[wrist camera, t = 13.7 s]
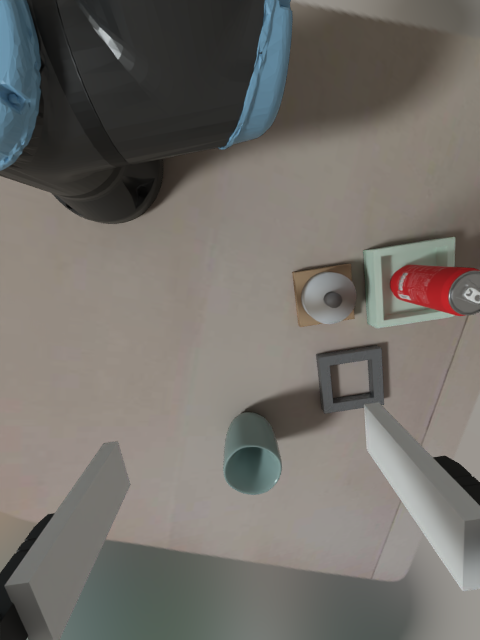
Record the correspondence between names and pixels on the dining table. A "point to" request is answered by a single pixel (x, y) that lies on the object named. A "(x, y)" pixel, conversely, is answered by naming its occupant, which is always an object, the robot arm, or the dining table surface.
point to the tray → (385, 263)
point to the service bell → (324, 295)
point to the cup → (251, 455)
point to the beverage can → (439, 288)
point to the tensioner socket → (347, 356)
